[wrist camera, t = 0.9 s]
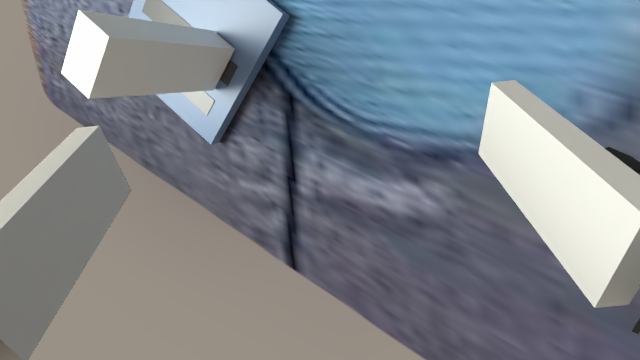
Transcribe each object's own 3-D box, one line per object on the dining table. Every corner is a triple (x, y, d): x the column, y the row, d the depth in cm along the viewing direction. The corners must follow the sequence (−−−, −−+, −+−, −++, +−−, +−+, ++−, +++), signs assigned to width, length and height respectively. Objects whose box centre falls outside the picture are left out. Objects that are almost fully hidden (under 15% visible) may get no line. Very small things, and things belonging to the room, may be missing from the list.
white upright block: (234, 48, 36) (109, 36, 24) (213, 90, 39) (88, 98, 26) (213, 30, 37) (78, 9, 24) (193, 72, 39) (61, 72, 27)
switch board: (290, 16, 35) (282, 13, 34) (219, 142, 42) (210, 144, 41) (174, -78, 37) (162, -84, 36) (125, 57, 44) (113, 56, 43)
